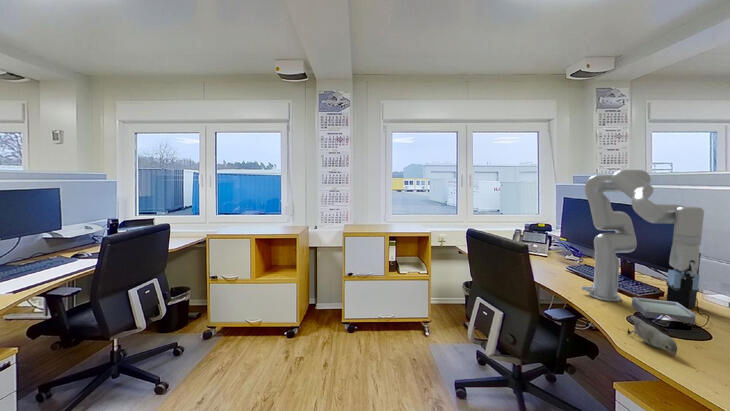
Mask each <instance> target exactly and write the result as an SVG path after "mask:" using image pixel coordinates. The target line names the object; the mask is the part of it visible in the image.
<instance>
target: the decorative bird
mask: <svg viewBox="0 0 730 411" xmlns="http://www.w3.org/2000/svg"><path fill="white" fill-rule="evenodd" d="M630 319H631V320H632V321H633V322H634V323H633V330H632V331H630V329H629V328H627V335H628V336H631V335H634V336H635V335H636V336H638V337H639V338H640V339H641V340H643V341H644V342H645V343H646V344H647V345H649V346H651V347H655V348H656V349H663V350H665V351H666V352H667V354H669V355H670V356H671V357H672V358H675V357H676V354H677V352H678V345H677V342H676V341H675V340H674V339H673V338H672V337H671V336H669V335H667V334H665V333H663V332H661V330H659V329H657V328H656V327H654V326H652V325H650V324H649V323H646V322H644V321H643V320H642V319H641V318H638V317H637V316H635V315H631V316H630ZM633 333H634V334H633Z"/></svg>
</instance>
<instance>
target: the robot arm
mask: <svg viewBox="0 0 730 411" xmlns="http://www.w3.org/2000/svg"><path fill="white" fill-rule="evenodd" d="M651 180H652V179H651V175H650V174H649V173H648V172H647V171H645V170H643V169H620V170H618V171H616V172H614V173H613V174H597V175H593V176H590V177H589V178H588V179H587V180H586V182H585V185H584V194H585V197H586V199H587V201H588V203H589V204H588V205H589V208H590V212H591V217H592V218H591V219H592V223H593V226H594V228H595V229H596V230H599V231H610V232H603V233H599V234H597V235H596V236H595V237H594V238H593V247H594V271H593V272H594V273H593V284H591V286H586V285H585V286H584V285H582V286H581V291H585V292H587V293H588V295H589V296H590V297H592V298H594V299H597V300H601V301H606V302H620V301H621V300H622V297H621V296H620V295H618V287H619V272H620V260H619V258H618V256H617V255H616V254H618V253H619V254H621V253H622V254H623V253H626V254H627V253H632V252H634V251H635V250H636V248H637V242H638V241H637V237H636V232H635V228H634V224H633V221H632V218H631V217H630V216H629V214H627V213H626V212H624V211H619V210H617V211H615V210H613V208H612V205H611V201H610V199H609V198H608V197H607V196H606V195H605V193H624V194H625V195H626V196H627V197H629V199H631V201H630V202H631V206H632V209H633V211H634V212H635V213H636V214H637V215H638V216H639V217H640V218H642V219H643V220H644V221H646V222H648V223H651V224H666V225H667V224H669V225H670V224H674V225H673V234H672V244H671V250H670V252H669V253H670V254H669V259H668V260H669V261H668V264H669V267H670V266H672V267H673V269H674V270H678V271H682V275H683V279H681V286H680V289H682V290H692V286H693V280H694V277H695V276H696V275H697V271H698V266H699V267H700V265H699V253H700V246H702V239H703V238H702V235H703V226H704V225H703V224H704V217H705V210H704V208H701V207H698V206H684V205H682V204H669V203H668V204H667V203H666V204H665V203H664V204H661V203H660V204H657V203H654V202H653V201H651V200H649V198H651V196H652V195H653V193H654V188H653V186H652V185H651ZM611 231H613V232H611ZM686 269H688V270H690V271H685V270H686ZM686 273H688V274H687V275H686Z"/></svg>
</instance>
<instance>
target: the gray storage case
mask: <svg viewBox="0 0 730 411" xmlns="http://www.w3.org/2000/svg"><path fill="white" fill-rule="evenodd" d="M687 274H688V273H686V275H687ZM681 279H683V275H682V271H678V270H669V269H668V271H667V282H666V284H665V285H666V286H667V288H668V287H670V288H672V289H673V290H675V291H679V290H680V286H681ZM699 282H700V274H699V275H698V274H697V275H696V276H695V277H694V280H693V286H692V290H690V291H691V292H693V293H697V294H698V292H699V290H700V289H699Z"/></svg>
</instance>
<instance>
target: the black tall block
mask: <svg viewBox="0 0 730 411" xmlns="http://www.w3.org/2000/svg"><path fill="white" fill-rule="evenodd" d="M701 254H702V253H701V252H699V266H698V271H697V274H698V275H699V276H700V274H699V272H700V262H701ZM668 270H674V269H673V267H672V266H670V265H669V268H668ZM685 271H690V270H688V269H686V270H685ZM697 294H698V292H697V293H693V292H691V291H690V290H682V289H680V290H679V291H675V290H673V289H672V288H670V287H668V286H667V291H666V301H671V302H678V303H679V304H681V305H682V306H684V307H685V308H687V309H688V310H690V309H691V308H694V307H696V305H697Z"/></svg>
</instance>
